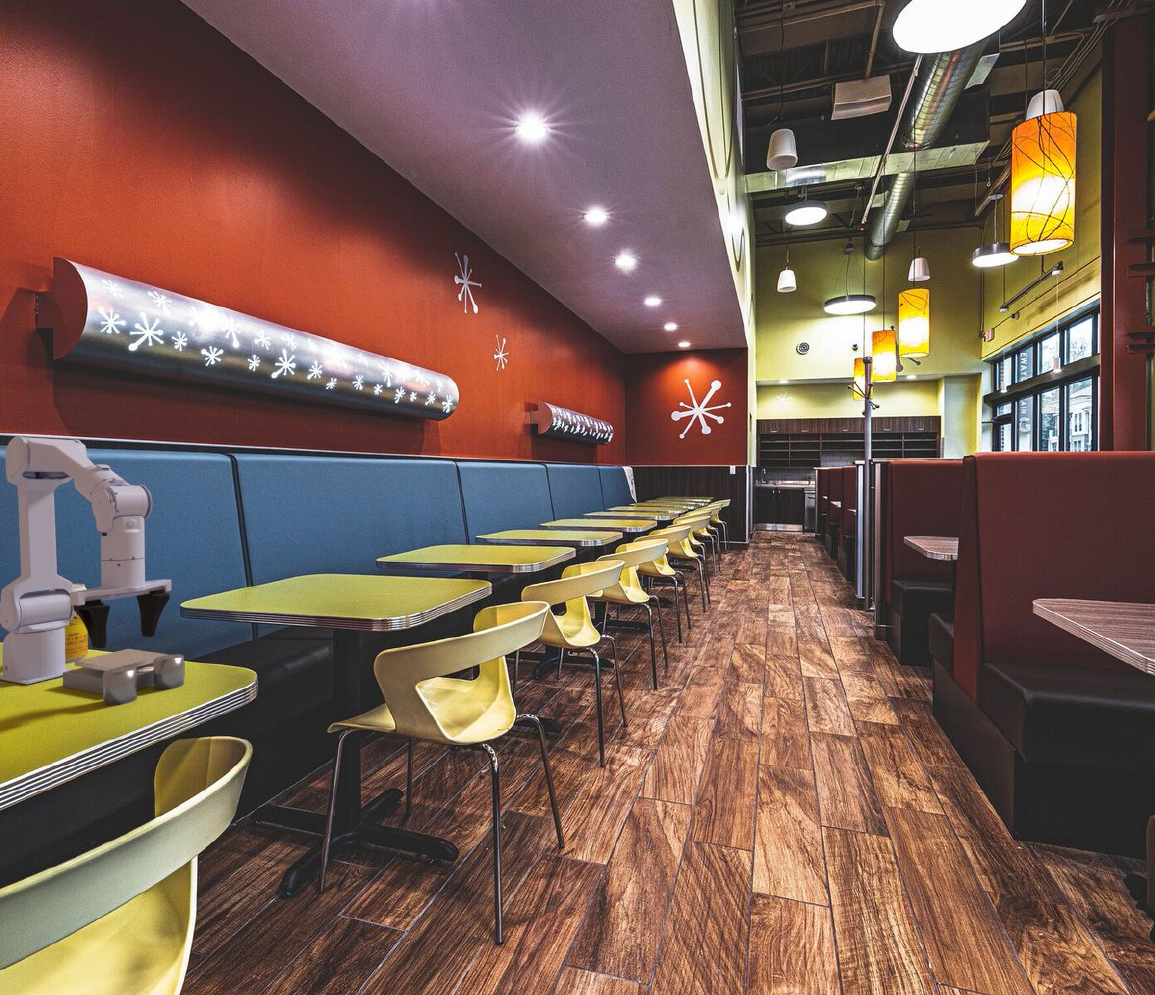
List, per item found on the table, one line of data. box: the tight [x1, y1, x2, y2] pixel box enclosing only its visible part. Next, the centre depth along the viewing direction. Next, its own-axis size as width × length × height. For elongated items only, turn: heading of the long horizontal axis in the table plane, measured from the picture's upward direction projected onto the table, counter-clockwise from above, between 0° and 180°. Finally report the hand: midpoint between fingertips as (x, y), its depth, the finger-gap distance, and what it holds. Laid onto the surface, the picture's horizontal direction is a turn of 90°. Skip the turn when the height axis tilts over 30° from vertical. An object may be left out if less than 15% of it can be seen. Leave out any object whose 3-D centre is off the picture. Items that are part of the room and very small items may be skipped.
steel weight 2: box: [153, 654, 185, 691], centre depth 106 cm, size 4×4×5 cm
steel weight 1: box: [102, 667, 138, 707], centre depth 99 cm, size 4×4×5 cm
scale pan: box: [74, 648, 169, 671], centre depth 109 cm, size 11×9×1 cm
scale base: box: [62, 662, 186, 695], centre depth 109 cm, size 14×12×3 cm
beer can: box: [49, 583, 89, 664], centre depth 123 cm, size 6×6×15 cm
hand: (124, 641), depth 99 cm, fingers open, 7 cm apart
